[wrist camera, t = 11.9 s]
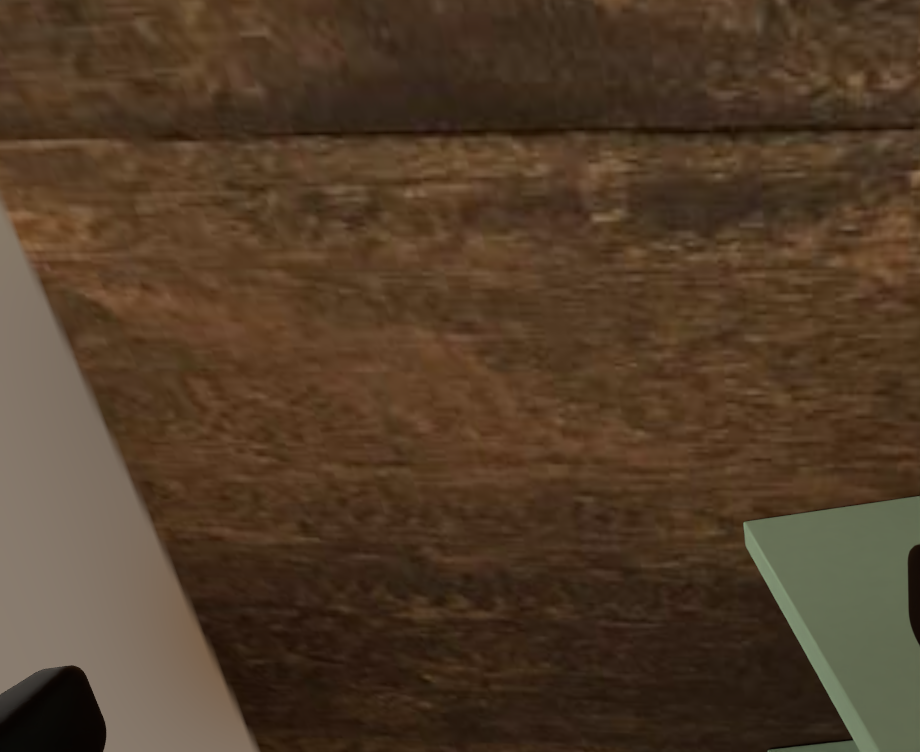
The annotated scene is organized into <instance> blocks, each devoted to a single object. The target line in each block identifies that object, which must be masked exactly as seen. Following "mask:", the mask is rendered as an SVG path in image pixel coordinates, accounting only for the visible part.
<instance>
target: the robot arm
mask: <svg viewBox="0 0 920 752" xmlns="http://www.w3.org/2000/svg"><path fill="white" fill-rule="evenodd" d="M908 609H909V620H910V624H911V628H912V631H913V633H914V636H915V638H916V640H917V642H918V644H919V645H920V544H918V545H915V546H914V547H913V548H912V549H911V550H910V551H909V555H908ZM105 742H106V726H105V721H104V718H103V716H102V714H101V711H100V709H99V706H98V704H97V701H96V699H95V696H94V694H93V691H92V689H91V687H90V684H89V682H88V679H87V677H86V675H85V673H84V672H83V671H82V670H81V669H80V668H79V667H76V666H64V667H57V668H49V669H44V670H41V671H38V672H36V673H34V674H33V675H31V676H29V677H28V678H26V679H25V680H23V681H22V682H20V683H18V684H17V685H15V686H13V687H12V688H10V689H9V690H7V691H5V692H4V693H2V694H1V695H0V752H103V750H104V746H105Z"/></svg>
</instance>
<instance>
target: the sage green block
mask: <svg viewBox="0 0 920 752" xmlns="http://www.w3.org/2000/svg"><path fill="white" fill-rule="evenodd" d="M743 525H744V535H745V544H746V547H747V549H748V551H749V553H750V555H751V556H752V558H753V560H754V562H755V564H756V565H757V567H758V569H759V571H760V573H761V574H762V576H763V578H764V580H765V582H766V583H767V585H768V587H769V589H770V591H771V592H772V594H773V596H774V598H775V600H776V601H777V603H778V605H779V607H780V609H781V610H782V612H783V614H784V616H785V617H786V619H787V621H788V623H789V625H790V626H791V628H792V630H793V632H794V634H795V635H796V637H797V639H798V641H799V643H800V644H801V646H802V648H803V650H804V652H805V653H806V655H807V657H808V659H809V661H810V662H811V664H812V666H813V668H814V670H815V671H816V673H817V675H818V677H819V679H820V680H821V682H822V684H823V686H824V688H825V689H826V691H827V693H828V695H829V697H830V698H831V700H832V702H833V704H834V706H835V707H836V709H837V711H838V713H839V715H840V716H841V718H842V720H843V722H844V724H845V725H846V727H847V729H848V731H849V732H850V734H851V736H852V738H853V740H850V741H841V742H832V743H823V744H814V745H805V746H796V747H787V748H778V749H769V750H768V751H767V752H920V645H919V644H918V642H917V640H916V638H915V636H914V633H913V631H912V628H911V624H910V620H909V609H908V555H909V551H910V550H911V549H912V548H913V547H914V546H915V545H918V544H920V496H916V497H909V498H903V499H896V500H889V501H882V502H875V503H868V504H862V505H855V506H848V507H841V508H834V509H828V510H821V511H814V512H807V513H800V514H794V515H787V516H780V517H773V518H766V519H760V520H753V521H746V522H744V524H743Z"/></svg>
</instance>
